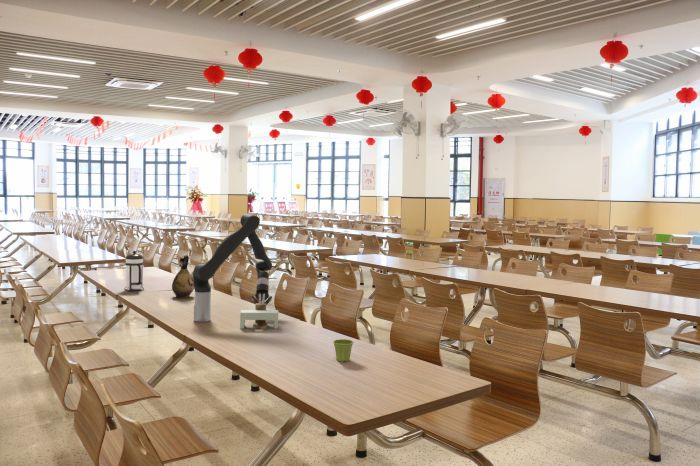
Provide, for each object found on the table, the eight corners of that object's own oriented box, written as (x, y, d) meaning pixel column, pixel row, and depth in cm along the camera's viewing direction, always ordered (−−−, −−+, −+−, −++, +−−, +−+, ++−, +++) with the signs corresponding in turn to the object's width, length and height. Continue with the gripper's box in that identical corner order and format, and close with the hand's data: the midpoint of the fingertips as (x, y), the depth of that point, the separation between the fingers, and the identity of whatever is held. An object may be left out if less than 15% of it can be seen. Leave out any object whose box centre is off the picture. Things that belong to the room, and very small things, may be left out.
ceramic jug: (190, 299, 403) (191, 257, 401) (168, 298, 403) (169, 256, 401) (197, 295, 420) (197, 254, 418) (176, 294, 420) (176, 253, 418)
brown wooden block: (252, 329, 318) (252, 308, 317) (253, 323, 333) (254, 303, 332) (266, 329, 319) (267, 308, 318) (267, 323, 334) (267, 303, 333)
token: (253, 332, 313) (253, 330, 313) (254, 330, 318) (254, 328, 318) (263, 332, 313) (263, 330, 313) (263, 330, 318) (263, 328, 318)
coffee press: (118, 291, 426) (118, 251, 424) (130, 288, 442) (130, 249, 440) (140, 292, 423) (140, 252, 421) (151, 289, 439) (151, 250, 437)
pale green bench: (240, 328, 320) (240, 312, 319) (241, 325, 328) (241, 309, 327) (277, 328, 322) (278, 312, 321) (278, 325, 330) (278, 310, 329)
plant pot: (346, 364, 258) (346, 345, 257) (328, 360, 263) (329, 342, 262) (356, 359, 266) (357, 341, 265) (339, 356, 271) (340, 338, 270)
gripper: (251, 283, 351) (249, 306, 339) (273, 283, 352) (272, 306, 341) (252, 290, 356) (250, 313, 345) (273, 290, 358) (272, 313, 346)
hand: (261, 310), depth 343 cm, fingers closed
